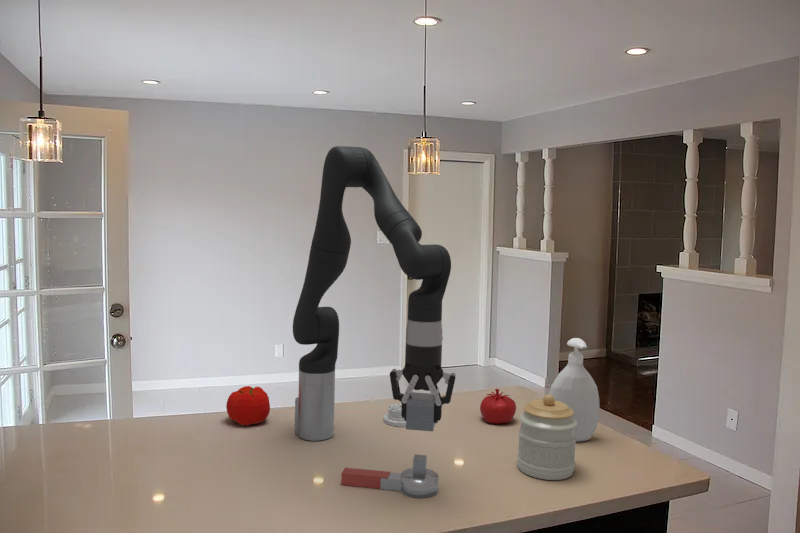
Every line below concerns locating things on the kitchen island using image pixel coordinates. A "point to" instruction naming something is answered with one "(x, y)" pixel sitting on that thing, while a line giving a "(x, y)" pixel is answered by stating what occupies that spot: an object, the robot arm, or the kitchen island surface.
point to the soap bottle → (578, 392)
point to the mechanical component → (395, 416)
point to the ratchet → (396, 479)
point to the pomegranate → (497, 408)
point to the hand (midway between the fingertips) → (421, 420)
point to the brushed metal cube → (420, 412)
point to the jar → (547, 439)
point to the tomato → (248, 405)
